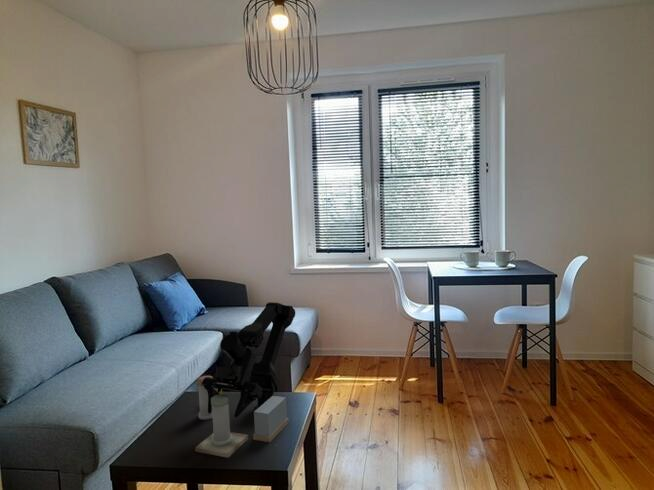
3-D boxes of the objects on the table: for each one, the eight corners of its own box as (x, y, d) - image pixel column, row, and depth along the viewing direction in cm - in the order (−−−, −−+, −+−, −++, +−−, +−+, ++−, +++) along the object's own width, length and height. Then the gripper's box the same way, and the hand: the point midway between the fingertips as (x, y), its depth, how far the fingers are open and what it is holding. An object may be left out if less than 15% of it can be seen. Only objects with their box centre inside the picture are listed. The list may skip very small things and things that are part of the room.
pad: (217, 433, 142) (217, 429, 142) (248, 438, 138) (248, 434, 138) (195, 451, 132) (195, 447, 132) (228, 457, 128) (227, 453, 128)
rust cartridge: (205, 410, 159) (203, 374, 158) (220, 413, 157) (218, 376, 156) (194, 418, 153) (192, 380, 152) (209, 420, 151) (207, 382, 150)
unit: (273, 420, 150) (272, 395, 149) (288, 422, 148) (287, 397, 147) (253, 439, 138) (251, 412, 137) (269, 442, 136) (268, 414, 135)
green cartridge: (213, 436, 138) (211, 394, 137) (234, 434, 138) (231, 393, 137) (210, 446, 132) (207, 403, 131) (231, 444, 132) (228, 401, 131)
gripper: (202, 351, 142) (182, 400, 133) (255, 356, 135) (237, 408, 126) (219, 367, 150) (200, 414, 141) (269, 373, 143) (253, 423, 134)
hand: (221, 415), depth 135 cm, fingers open, 9 cm apart
